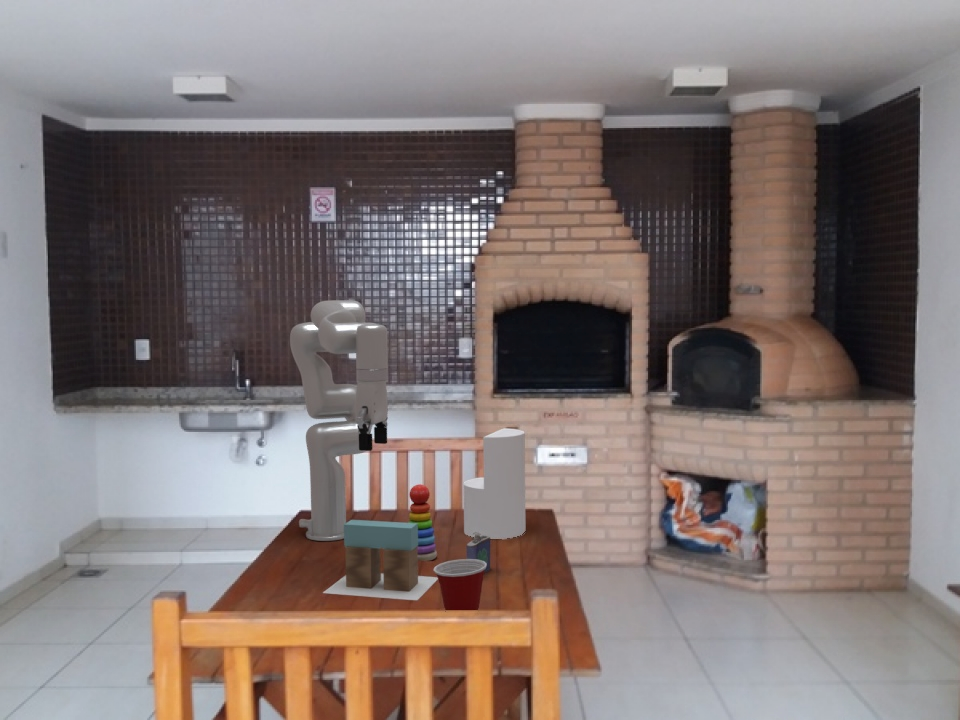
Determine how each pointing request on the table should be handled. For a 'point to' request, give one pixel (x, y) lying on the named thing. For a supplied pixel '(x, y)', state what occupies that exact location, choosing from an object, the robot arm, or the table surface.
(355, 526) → the beam
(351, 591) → the board
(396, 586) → the pillar right
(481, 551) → the flask
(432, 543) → the stacking toy
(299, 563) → the table surface
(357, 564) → the pillar left
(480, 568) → the plastic cup
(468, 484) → the cylinder
